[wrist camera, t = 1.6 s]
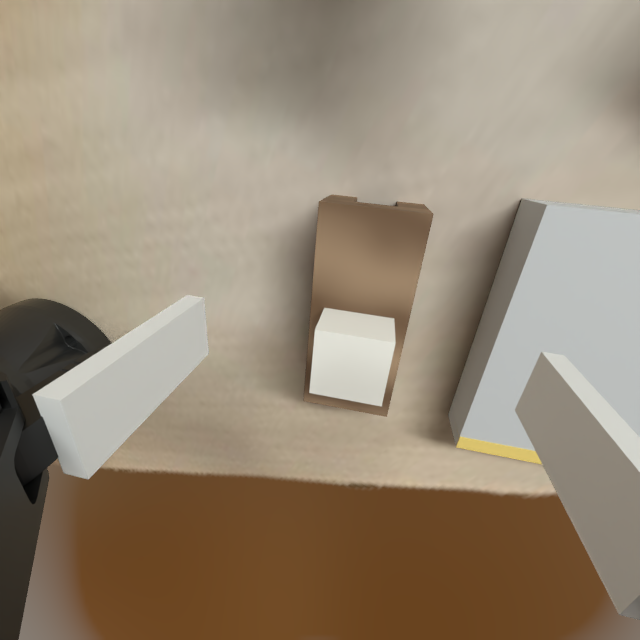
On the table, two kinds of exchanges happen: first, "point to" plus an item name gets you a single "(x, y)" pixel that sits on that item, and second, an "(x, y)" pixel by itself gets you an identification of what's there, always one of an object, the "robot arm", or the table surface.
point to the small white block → (352, 356)
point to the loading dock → (554, 320)
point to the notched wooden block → (366, 273)
